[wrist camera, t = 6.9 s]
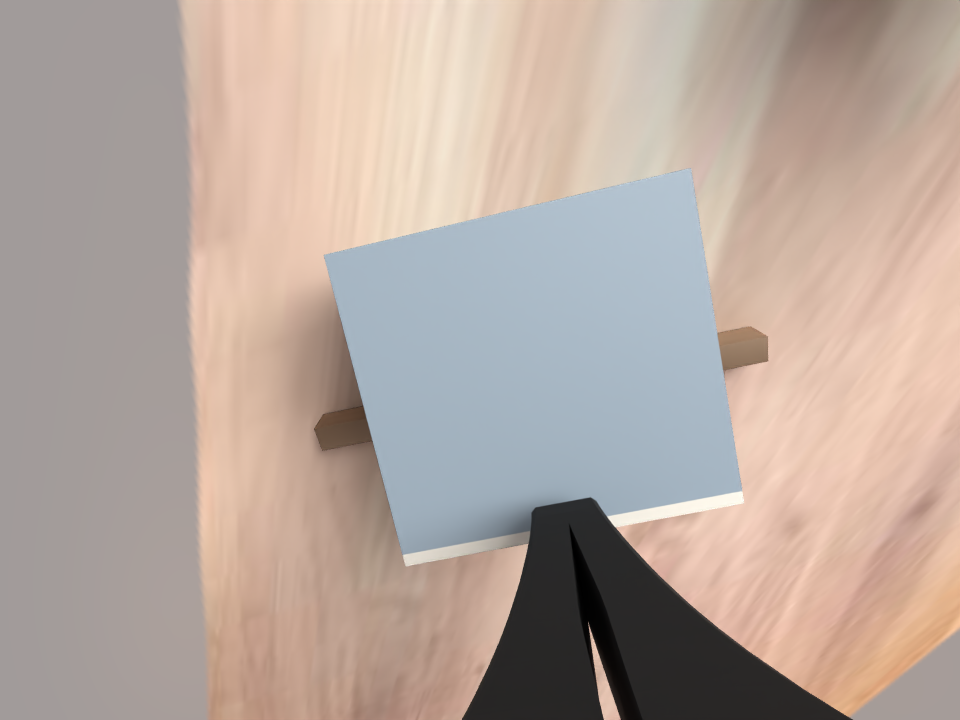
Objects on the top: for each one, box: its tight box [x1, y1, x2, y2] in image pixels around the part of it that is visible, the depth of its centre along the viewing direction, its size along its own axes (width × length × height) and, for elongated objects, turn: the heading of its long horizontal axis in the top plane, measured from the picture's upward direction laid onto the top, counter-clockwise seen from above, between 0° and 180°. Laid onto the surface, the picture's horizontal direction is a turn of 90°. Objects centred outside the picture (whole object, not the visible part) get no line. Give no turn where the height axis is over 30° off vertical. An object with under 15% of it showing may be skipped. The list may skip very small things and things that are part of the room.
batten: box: [314, 326, 768, 451], centre depth 16 cm, size 1×14×1 cm, turn 103°
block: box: [324, 168, 744, 566], centre depth 13 cm, size 4×8×8 cm
